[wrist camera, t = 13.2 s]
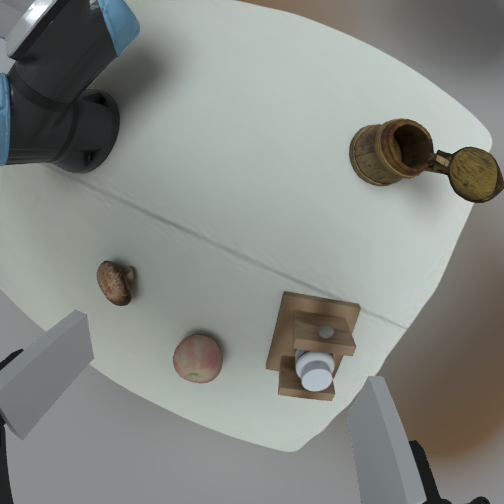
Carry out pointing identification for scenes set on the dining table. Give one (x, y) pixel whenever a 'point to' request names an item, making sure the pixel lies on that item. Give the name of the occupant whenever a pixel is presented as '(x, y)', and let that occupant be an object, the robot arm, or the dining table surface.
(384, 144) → the wooden mug
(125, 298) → the mushroom
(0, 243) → the dining table surface
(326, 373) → the pill bottle
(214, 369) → the apple
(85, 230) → the dining table surface
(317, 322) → the holder
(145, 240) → the dining table surface
